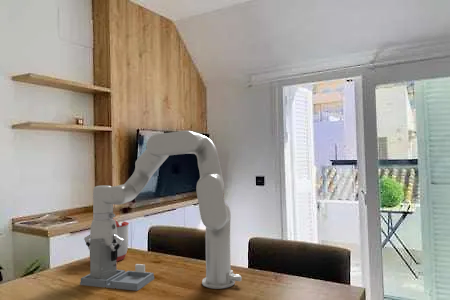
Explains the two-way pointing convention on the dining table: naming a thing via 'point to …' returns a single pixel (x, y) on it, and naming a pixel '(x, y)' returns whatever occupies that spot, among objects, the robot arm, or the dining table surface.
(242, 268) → the dining table surface
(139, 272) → the tray
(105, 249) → the skincare box
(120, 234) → the citrus juicer
